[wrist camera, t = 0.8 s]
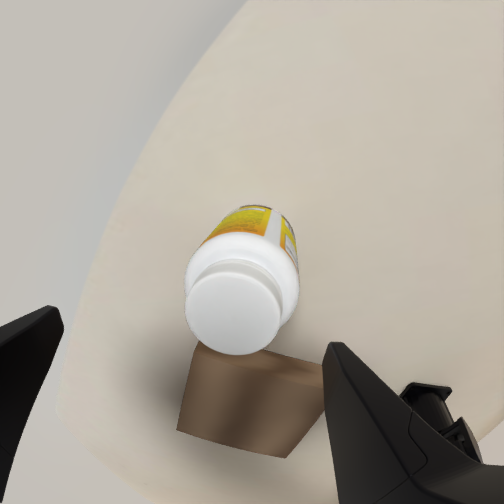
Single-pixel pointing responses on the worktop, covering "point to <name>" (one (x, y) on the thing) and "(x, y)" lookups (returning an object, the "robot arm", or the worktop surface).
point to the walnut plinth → (251, 400)
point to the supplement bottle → (243, 281)
